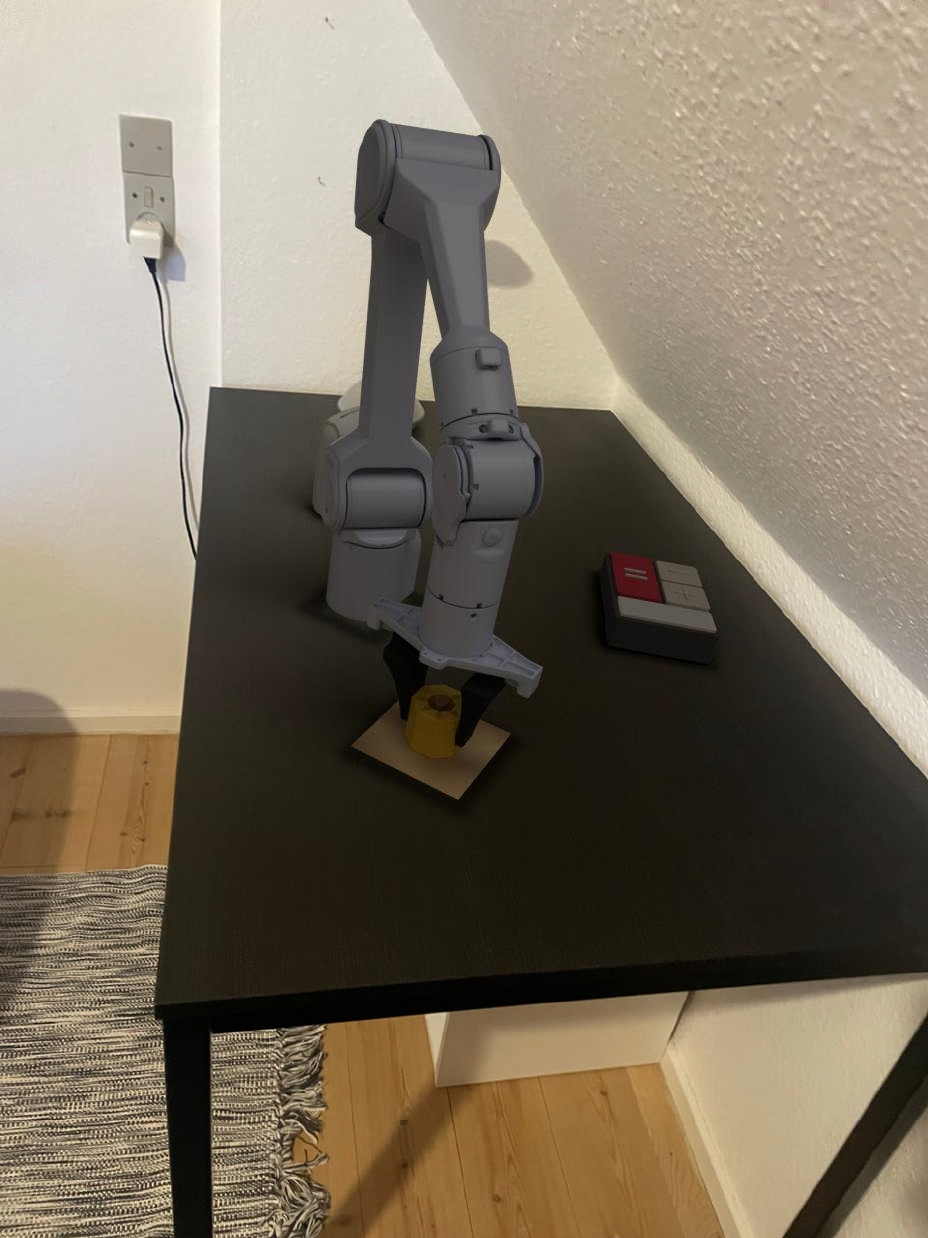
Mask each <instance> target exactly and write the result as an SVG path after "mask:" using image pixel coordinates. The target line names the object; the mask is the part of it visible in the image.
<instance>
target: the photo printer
mask: <svg viewBox="0 0 928 1238" xmlns="http://www.w3.org/2000/svg"><path fill="white" fill-rule="evenodd" d="M359 411H360V405H358V406H353V407H349V408H347V409H344V410H342V411H338V412H337V413H335V414H333V415H332V416H330V417H328V418H327V419H325V420H324V421H323V422H322V423H321V426H320V427H319V431H318V440H317V441H318V442H317V450H316V460H315V468H314V478H313V488H312V499H311V500H312V501H311V502H312V503H311V504H312V506H313V509H314V511H315V512H316V513H317V514H318V515H320V516H321V512H320V505H319V483H320V477H321V474H322V472H323V468H324V462H325V454H326V452H327V447H328V446H329V445H330V444H331V443H333V442H334V441H336V440H338V439H339V438H341V437H343V436H344V435H346V434H347V433H349V432H350V431H352V430H354V429H355V428H356V427H357V426H358V423H359Z"/></svg>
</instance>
